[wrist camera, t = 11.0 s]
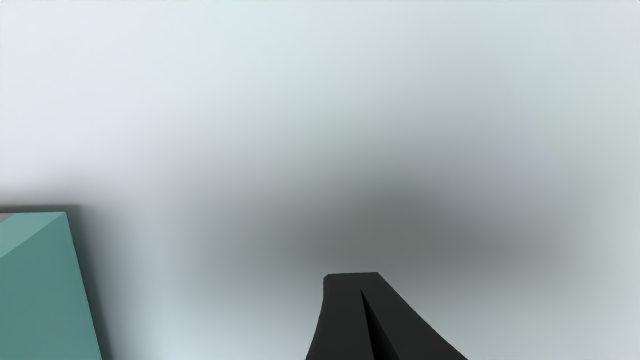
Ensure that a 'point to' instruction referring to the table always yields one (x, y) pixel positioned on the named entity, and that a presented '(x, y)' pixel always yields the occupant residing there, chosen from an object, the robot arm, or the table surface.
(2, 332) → the tray
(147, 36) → the table surface
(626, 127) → the table surface
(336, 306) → the robot arm
